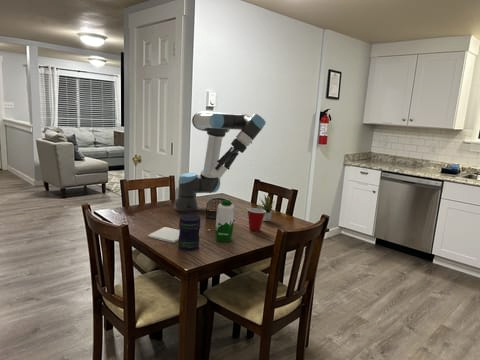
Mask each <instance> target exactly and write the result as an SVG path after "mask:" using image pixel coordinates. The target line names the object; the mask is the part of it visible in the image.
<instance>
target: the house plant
mask: <svg viewBox="0 0 480 360" xmlns="http://www.w3.org/2000/svg"><path fill="white" fill-rule="evenodd" d="M263 195H264V201H263V200H262V198H261V197H259V196H256V197H258V200H259V201H261V203H262V204H260V203H258V204H257V206H256V207H258V206H259V207H260V209H263V210H265V211H266V213H265V214H264V217H263V220H265V221H268V220H270V221H271V218H272V215H273V209H276V208H274V206H275V204H274V203H275V202H276V201H275V200H276V199H275V200H273V201H272V202H271V197H270V195H267V196H266V195H265V194H263ZM270 203H271V204H270Z"/></svg>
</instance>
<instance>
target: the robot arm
mask: <svg viewBox="0 0 480 360" xmlns="http://www.w3.org/2000/svg"><path fill="white" fill-rule="evenodd" d="M191 123H192V126H193V127H194V128H195V129H197V130H198V131H202V132H206V134H207V136H208V139H207V143H206V152H205V158H204V164H203V170H201V172H200V175H199V174H197V172H186V173H185V172H184V173H181V174H180V175H179V177H178V193H177V199H176V202H175V204H174V210H176V211H178V212H181V213H182V212H183V213H188V212H189V213H193V212H196V211H198V210H199V204H198V199H197V194H213V193H216V192H218V191H219V189H220V186H221V178H222V177H223V175H224V174H225V173H226V172H227V170H228V171H229V170H230V169H231V166H232V164H233V162H234V161H235V160H236V158H237V157H238V156H239V154H240V153H242V154H243V153H244V152H245V151H246V150H247V147H249V146H250V144H253V140H255V138H256V137H257V136H258V134H259V133H260V132H261V131H262V129H263V128H264V126H265V125H266V124H267V122H266V120H265V119H264V118H263V117H262V116H261V115H259V114H258V113H254V114H253V115H252V116H250V115H248V114H246V113H245V114H244V113H240V114H238V113H237V114H234V113H225V112H215V111H214V112H213V111H199V112H197V113H195V114H193V116H192V118H191ZM231 130H236V131H237V130H240V131H239V132H238V134H237V135H236V136H235V137H236V138H234V139H233V140H232V141H231V143H230V145H231V146H230V147H229V149H227V151H226V152H225V153H224V154H223V155H222V156H221V157H220V155H221V153H220V152H221V148H222V142H223V139H224V138H225V137H226V134H227V133H229V132H230V131H231ZM239 152H240V153H239Z"/></svg>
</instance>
